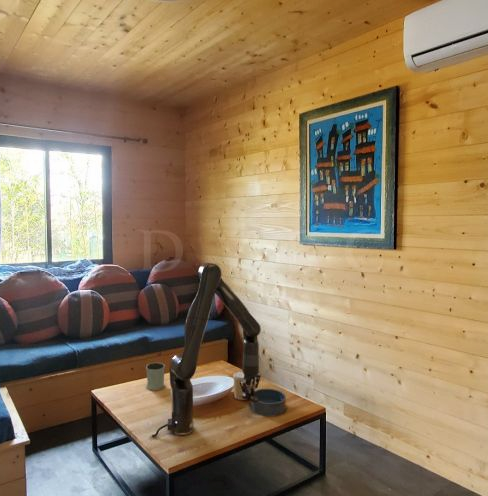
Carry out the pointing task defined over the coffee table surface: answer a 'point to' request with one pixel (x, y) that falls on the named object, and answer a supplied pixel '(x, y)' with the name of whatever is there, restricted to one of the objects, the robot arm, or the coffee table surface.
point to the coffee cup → (238, 385)
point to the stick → (252, 398)
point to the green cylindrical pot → (155, 376)
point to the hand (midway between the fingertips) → (249, 399)
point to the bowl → (269, 402)
